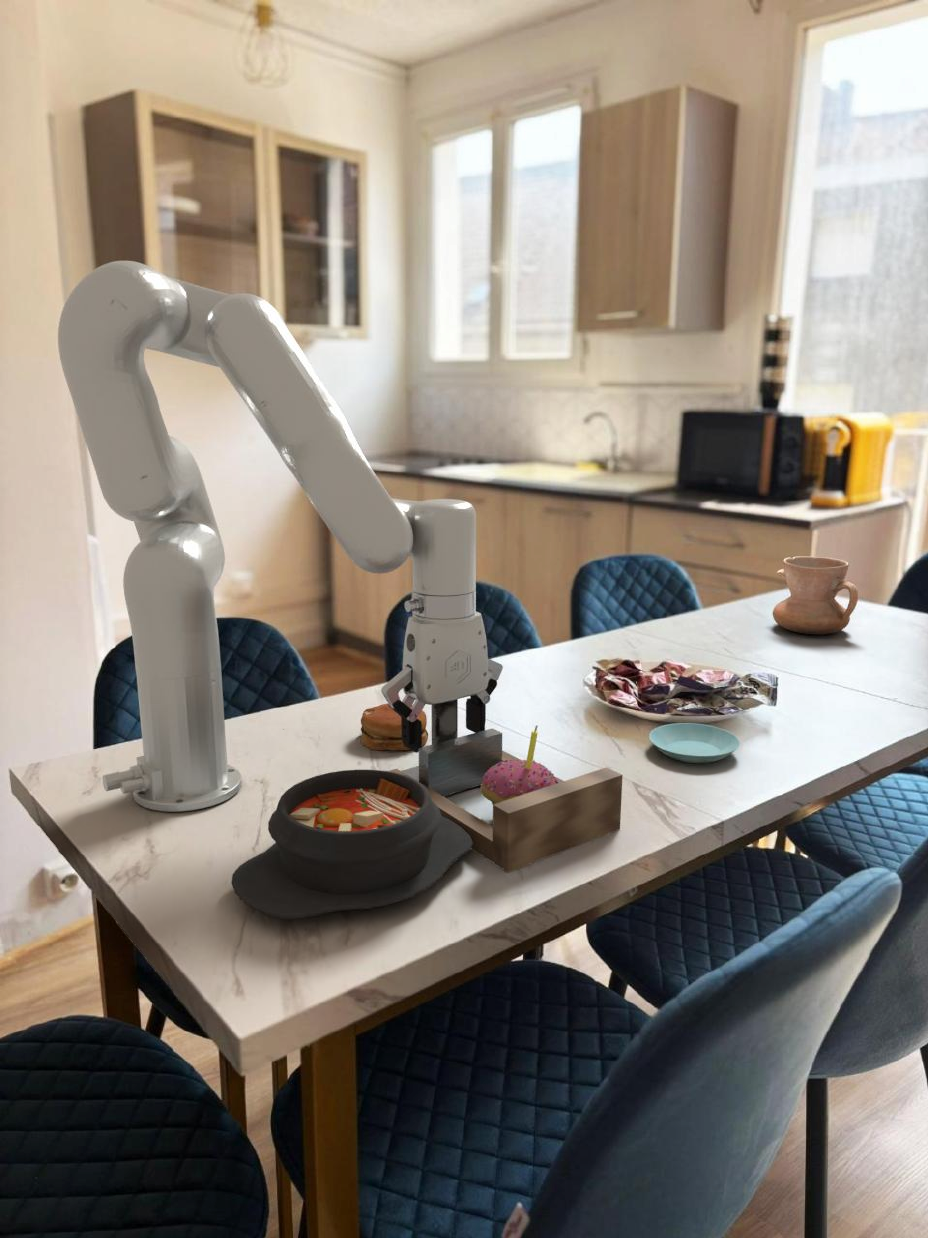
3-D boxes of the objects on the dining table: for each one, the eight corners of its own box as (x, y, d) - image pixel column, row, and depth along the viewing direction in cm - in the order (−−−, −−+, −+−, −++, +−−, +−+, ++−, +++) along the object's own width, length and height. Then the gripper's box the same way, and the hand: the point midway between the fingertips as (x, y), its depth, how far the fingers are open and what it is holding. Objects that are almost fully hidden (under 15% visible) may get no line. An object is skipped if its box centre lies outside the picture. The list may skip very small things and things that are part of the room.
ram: (428, 801, 109) (427, 719, 106) (396, 781, 114) (395, 702, 112) (501, 778, 115) (502, 700, 113) (468, 760, 120) (468, 685, 118)
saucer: (691, 778, 116) (693, 761, 116) (629, 748, 126) (630, 732, 126) (757, 760, 122) (759, 743, 122) (693, 732, 132) (694, 717, 132)
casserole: (405, 808, 108) (404, 741, 106) (511, 872, 94) (512, 796, 92) (200, 878, 92) (194, 801, 90) (291, 967, 78) (287, 877, 76)
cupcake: (568, 816, 106) (572, 717, 103) (535, 847, 99) (538, 741, 96) (502, 799, 110) (503, 703, 107) (466, 828, 103) (466, 726, 100)
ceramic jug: (751, 626, 189) (756, 557, 186) (797, 617, 197) (803, 551, 193) (827, 646, 175) (834, 572, 171) (873, 636, 182) (882, 565, 179)
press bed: (507, 872, 93) (508, 813, 92) (383, 790, 112) (382, 740, 111) (619, 829, 103) (622, 774, 101) (487, 760, 121) (488, 713, 120)
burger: (436, 749, 125) (436, 716, 124) (369, 758, 123) (368, 724, 121) (417, 725, 135) (416, 694, 133) (353, 732, 132) (352, 701, 131)
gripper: (399, 621, 102) (401, 766, 106) (520, 600, 112) (518, 734, 116) (364, 608, 108) (368, 746, 112) (482, 589, 118) (481, 717, 122)
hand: (444, 739), depth 114 cm, fingers open, 9 cm apart
